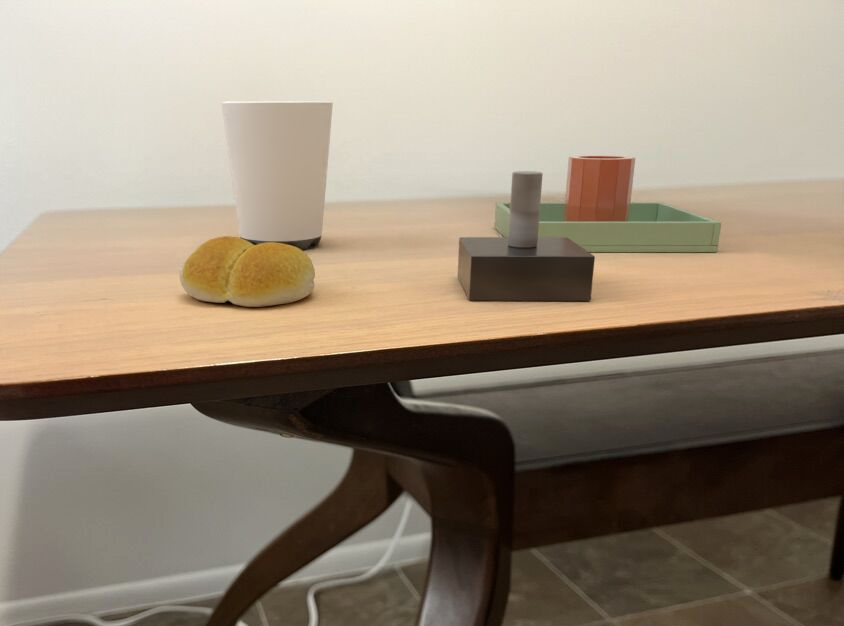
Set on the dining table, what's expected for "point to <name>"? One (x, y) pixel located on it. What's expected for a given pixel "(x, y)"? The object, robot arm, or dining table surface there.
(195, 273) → the bread roll
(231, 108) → the cup
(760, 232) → the dining table surface
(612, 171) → the reddish-brown round cylinder
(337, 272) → the dining table surface
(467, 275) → the ring holder
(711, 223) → the tray
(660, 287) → the dining table surface
